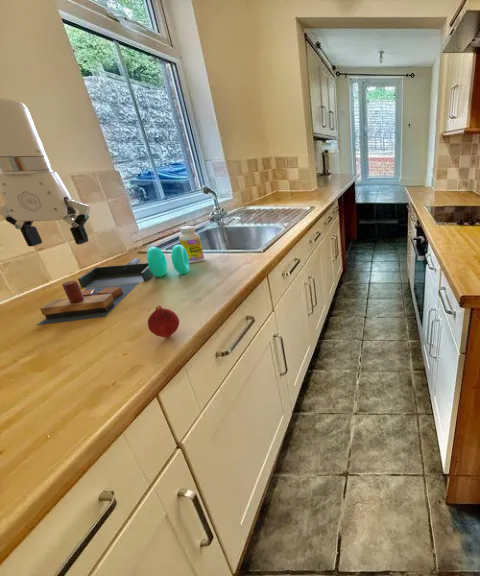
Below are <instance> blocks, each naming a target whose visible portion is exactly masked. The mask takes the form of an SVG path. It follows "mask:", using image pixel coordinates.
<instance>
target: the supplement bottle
mask: <svg viewBox="0 0 480 576" xmlns="http://www.w3.org/2000/svg"><path fill="white" fill-rule="evenodd" d="M179 231H180V233H181V234H179V236H178V240H179V245H182V246H183V247H184V248H185V250H186V252H187V255H188V260H189V264H195V263H199V262H202V261H204V260H205V255H204V250H203V245H202V241H201V237H200V235H199V233H197V232H196V228H195V226H193V225H186V226H185V225H184V226H181V227H179Z"/></svg>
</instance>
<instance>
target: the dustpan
mask: <svg viewBox="0 0 480 576" xmlns="http://www.w3.org/2000/svg"><path fill="white" fill-rule="evenodd" d="M152 276H153V274H152V272H151V271H150V268H149V265H148V262H142V263H141V259H140V258H138V257H134V258H133V259H131V260H130V261H129V262H128V263H126V264H118V265H117V264H116V265H107V266H106V265H105V266H95V267H93V268H92V269H90V270H89V271H87V272H86V273H84V274H83V275H81V276H80V277H78V278H77V280H78V284H79V285H80V287H81V288H82V289H86V288H90V287H100V286H109V285H119V284H129V283H139V282H140V283H146V282H147V281H148V280H149V279H150V278H151V277H152Z"/></svg>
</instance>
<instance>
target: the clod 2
mask: <svg viewBox="0 0 480 576" xmlns="http://www.w3.org/2000/svg"><path fill="white" fill-rule="evenodd" d="M96 294H97V295H103V294H112V297H113V299H114V298H116V297H118V296H119V295H121V294H123V292H122V289H121V287H107V288H105V289H103V290H101V291H99V292H97V293H96Z"/></svg>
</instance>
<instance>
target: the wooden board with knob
mask: <svg viewBox="0 0 480 576" xmlns="http://www.w3.org/2000/svg"><path fill="white" fill-rule="evenodd" d="M79 285H80V284H79V282H78V281H77V280H69V281H65V282H63V283H61V286H62V288H63V290H64V292H65V295H66V297H67V298H58V299H52V300H50V301H49V302H47V303H45V304H44V305H43V306H41V307H39V310H40V313H41V314H42V315H43V316H44V317H45V319H55V318H64V317H72V316H80V315H89V314H97V313H105V312H107V311H108V310H110V309H111V308H112V307H113V306H114V303H113V297H112V294H103V295H94V296H85V297H83V295H82V292H81V291H82V290H81V288H80V286H79Z"/></svg>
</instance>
